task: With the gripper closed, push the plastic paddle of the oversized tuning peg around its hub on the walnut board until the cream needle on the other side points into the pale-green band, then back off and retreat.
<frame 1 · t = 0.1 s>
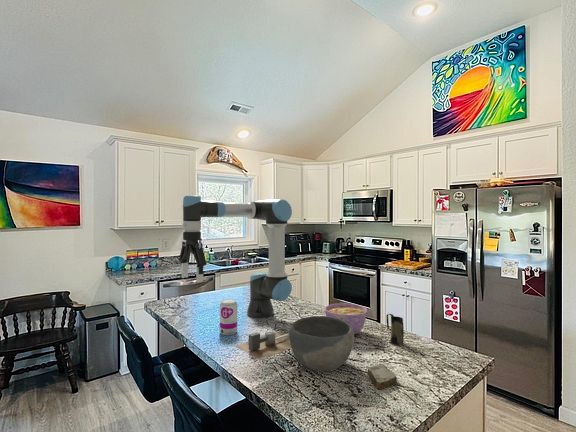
hand: (192, 279, 144), 28 cm above the countertop, fingers open, 13 cm apart
peg key: (270, 336, 140), point 5 cm above the countertop, hinge at 0.0°
bowl of food: (345, 333, 157), on the countertop
supplement can: (228, 333, 158), on the countertop
stone: (381, 380, 113), on the countertop
bowl: (321, 365, 124), on the countertop
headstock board: (270, 347, 140), on the countertop
mug: (394, 343, 145), on the countertop
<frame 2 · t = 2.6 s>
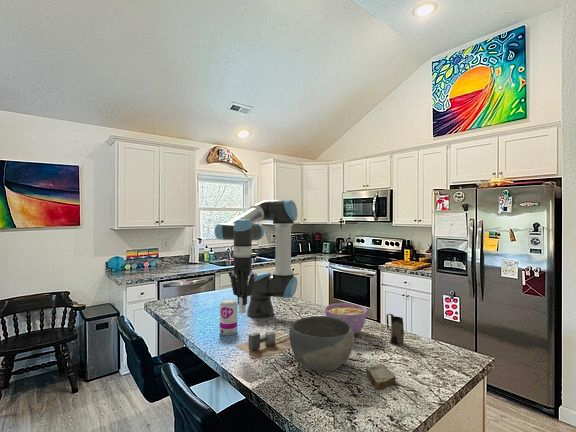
hand: (242, 312, 138), 15 cm above the countertop, fingers closed
nothing on the countertop moved.
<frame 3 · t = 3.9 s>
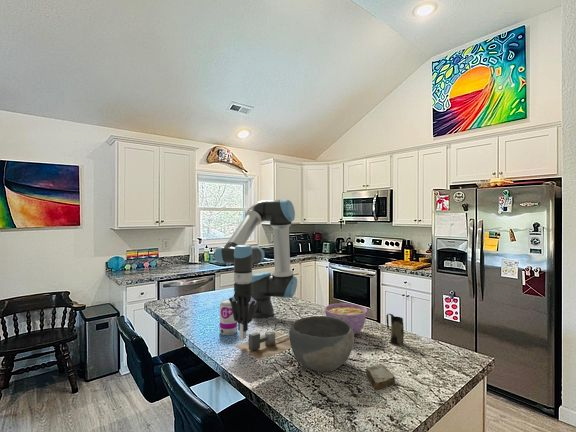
hand: (243, 338, 138), 4 cm above the countertop, fingers closed
nothing on the countertop moved.
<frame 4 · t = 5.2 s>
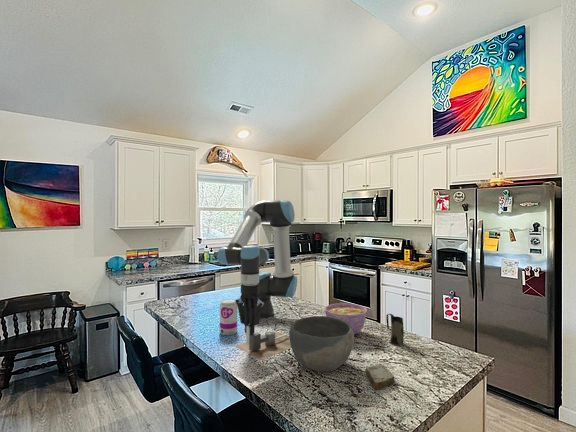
hand: (249, 341, 135), 5 cm above the countertop, fingers closed
peg key: (270, 336, 140), point 5 cm above the countertop, hinge at 2.8°, touching gripper
everything else where it was.
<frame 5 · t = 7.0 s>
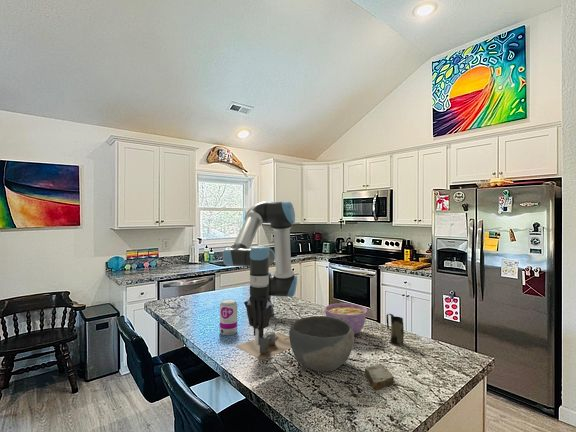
hand: (258, 344, 132), 5 cm above the countertop, fingers closed
peg key: (270, 336, 140), point 5 cm above the countertop, hinge at 32.6°, touching gripper
everything else where it was.
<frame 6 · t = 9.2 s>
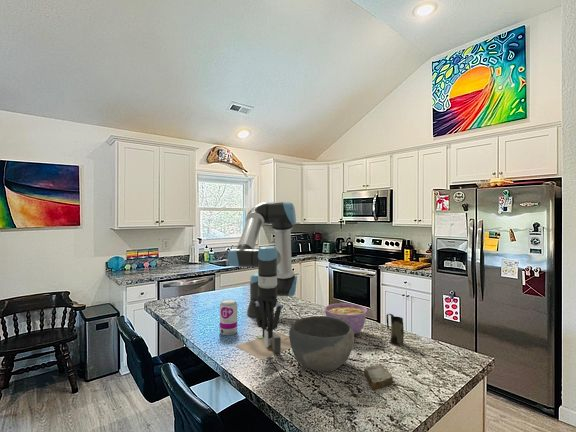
hand: (267, 345, 131), 4 cm above the countertop, fingers closed
peg key: (270, 336, 140), point 5 cm above the countertop, hinge at 65.6°
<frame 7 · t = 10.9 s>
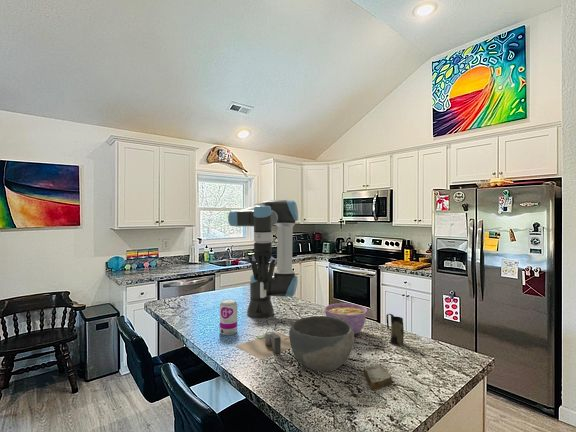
hand: (263, 296, 141), 21 cm above the countertop, fingers closed
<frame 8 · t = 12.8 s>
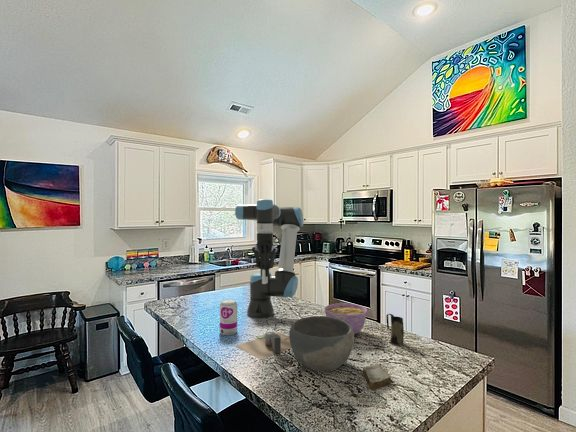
hand: (264, 283, 154), 24 cm above the countertop, fingers closed
at the end: peg key at +66° (first picture: +0°) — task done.
